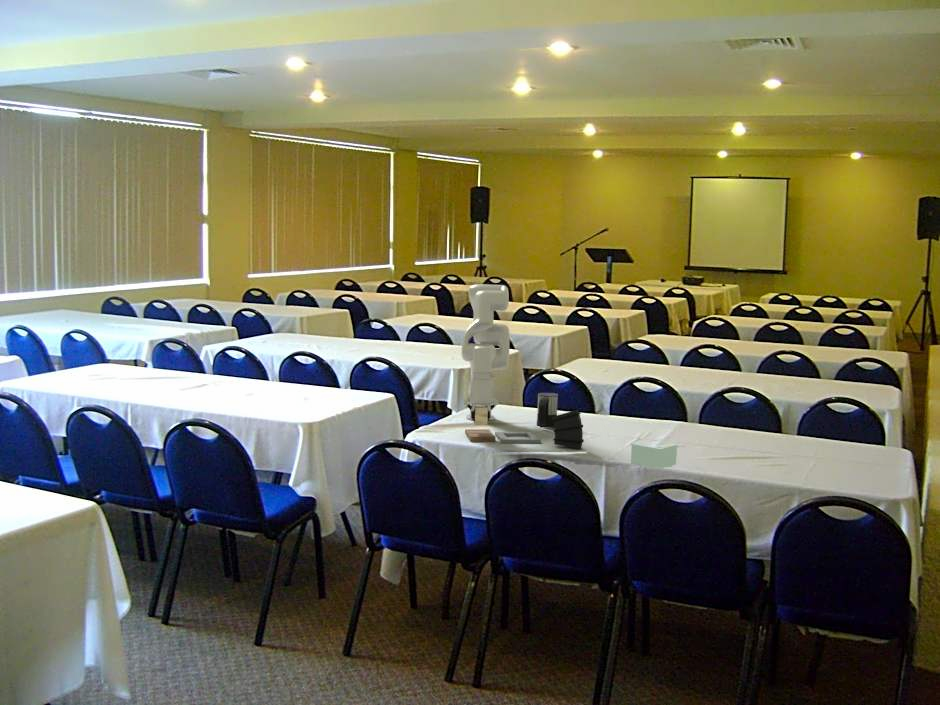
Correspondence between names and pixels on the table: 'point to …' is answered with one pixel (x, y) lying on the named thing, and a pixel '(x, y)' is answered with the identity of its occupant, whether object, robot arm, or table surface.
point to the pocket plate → (531, 438)
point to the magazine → (568, 430)
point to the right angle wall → (653, 456)
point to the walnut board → (480, 435)
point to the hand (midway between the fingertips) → (480, 420)
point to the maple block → (481, 415)
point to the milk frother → (546, 409)
